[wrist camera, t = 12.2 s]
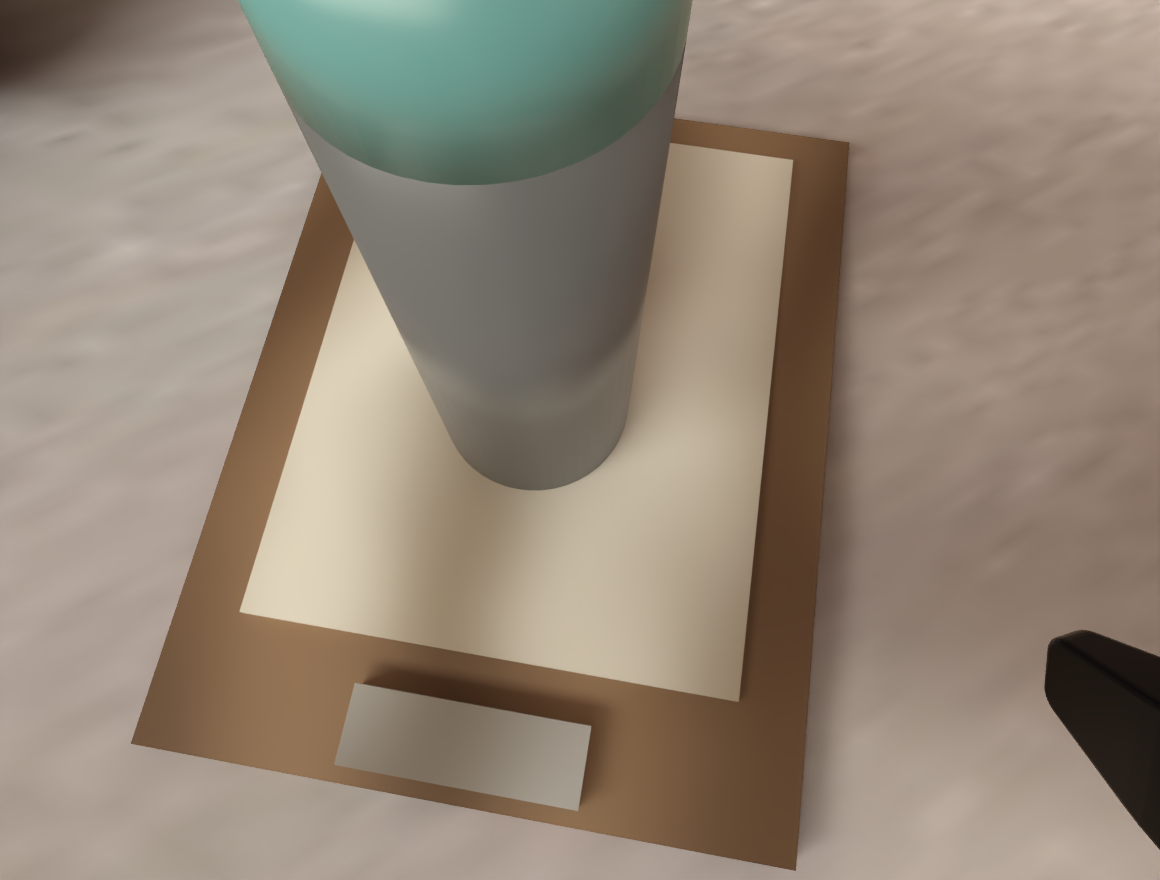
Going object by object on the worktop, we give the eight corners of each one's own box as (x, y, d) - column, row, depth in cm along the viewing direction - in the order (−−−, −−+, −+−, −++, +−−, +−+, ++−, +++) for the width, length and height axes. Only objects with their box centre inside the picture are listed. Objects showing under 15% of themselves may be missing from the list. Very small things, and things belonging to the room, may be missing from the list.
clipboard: (840, 162, 22) (856, 127, 21) (785, 862, 16) (804, 877, 15) (362, 95, 23) (348, 57, 21) (150, 741, 17) (114, 745, 16)
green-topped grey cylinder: (665, 392, 19) (829, -224, 6) (545, 528, 17) (458, 108, 5) (528, 288, 20) (438, -426, 7) (406, 411, 18) (54, -181, 6)
